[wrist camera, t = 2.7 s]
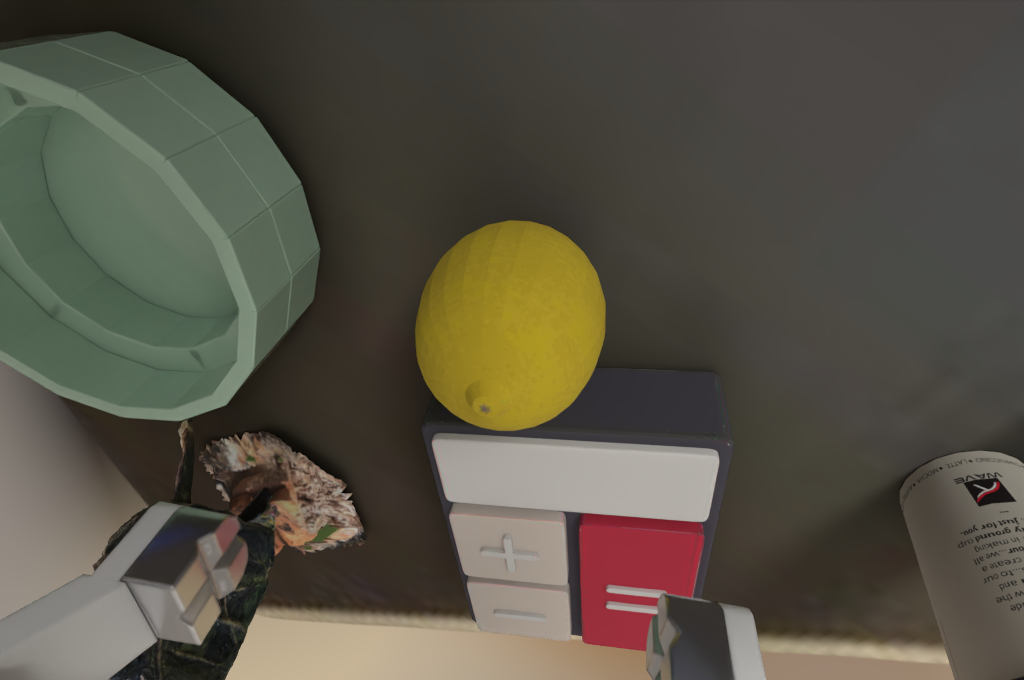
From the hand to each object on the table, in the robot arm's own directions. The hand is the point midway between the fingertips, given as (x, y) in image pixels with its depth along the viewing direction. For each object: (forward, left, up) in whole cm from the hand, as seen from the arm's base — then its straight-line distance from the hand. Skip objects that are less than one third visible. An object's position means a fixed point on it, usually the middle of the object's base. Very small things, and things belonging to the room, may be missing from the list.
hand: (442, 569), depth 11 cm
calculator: (+3, +11, -12) cm, 17 cm away
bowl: (+12, -7, -12) cm, 18 cm away
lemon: (0, 0, -12) cm, 12 cm away
